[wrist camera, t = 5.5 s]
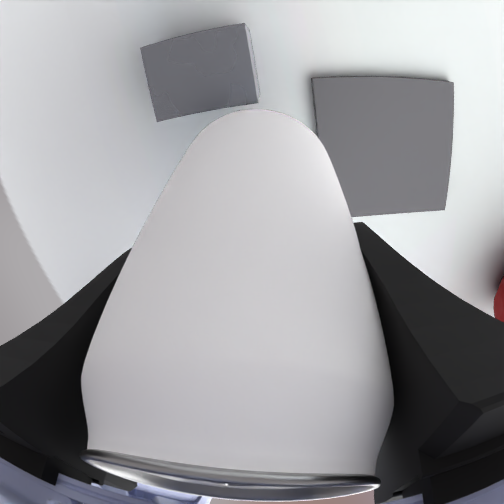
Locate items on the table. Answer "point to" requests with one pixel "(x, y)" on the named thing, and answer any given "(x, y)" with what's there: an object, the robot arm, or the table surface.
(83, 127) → the table surface
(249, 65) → the block
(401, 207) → the mat
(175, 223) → the can
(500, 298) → the apple
